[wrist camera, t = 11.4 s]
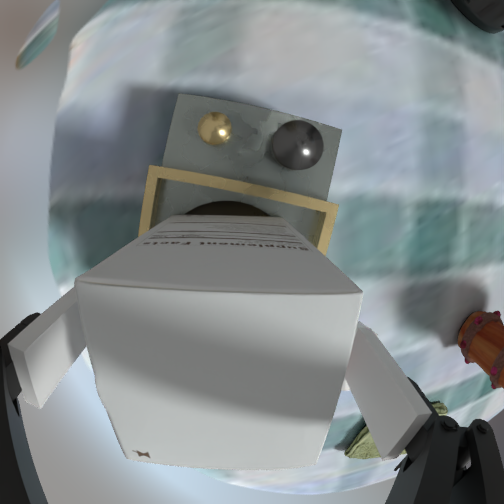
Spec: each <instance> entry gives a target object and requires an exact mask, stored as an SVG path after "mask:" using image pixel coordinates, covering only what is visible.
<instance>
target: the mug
mask: <svg viewBox="0 0 504 504" xmlns="http://www.w3.org/2000/svg"><path fill="white" fill-rule="evenodd" d="M500 316H501V314H500V312H499V311H495V312H493V313H491V312H488V313H487V312H482V311H477V312H474V313H472V314H471V315H470V316H469V317H468V319H467V320H466V321H465V323H464V324H463V326H462V327H461V330H460V332H459V335H458V336H459V337H458V346H459V347H460V348H461V352H462V354H463V356H464V357H465V363H466V364H469V363H470V362H471V363H475V362H476V363H477V364H478V365H479V366H480V367H481V368H482V369H483V370H484V372H486V373H487V374H488V375H489V376H490V381H491V382H492V385H491V386H492V388H493V389H496V388H501V387H503V388H504V326H503V322H502V320H501V319H500Z"/></svg>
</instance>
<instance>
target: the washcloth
mask: <svg viewBox="0 0 504 504" xmlns="http://www.w3.org/2000/svg"><path fill="white" fill-rule="evenodd" d="M432 406H433V407H434V409H435V410H436V411H437V413H438V414H439V416H441V415H445V416H446V414H447V412H448V410H447V407H446V406H445V405H444V403H435V404H432ZM344 454H345V456H348V457H349V458H358V459H368V458H375V457H381V456H380V454H379V452H378V449H377V447H376V445H375V442H374V440H373V438H372V436H371V434H370V431H369V429H368V427H367V425H366V427H365V428H364V429H362V431H361V432H360V433H359V434H358V436H357V437H356V438H355V440H354V441H353V443H352V444H351V445H350V447H349V448H348V449H347V450H346V451H345V453H344ZM401 454H406V451H405V449H404V450H403V451H402V453H401ZM401 454H400V455H401Z"/></svg>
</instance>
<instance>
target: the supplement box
mask: <svg viewBox="0 0 504 504" xmlns="http://www.w3.org/2000/svg"><path fill="white" fill-rule="evenodd" d="M74 286H75V292H76V298H77V303H78V309H79V314H80V319H81V323H82V328H83V332H84V337H85V341H86V345H87V349H88V353H89V357H90V360H91V364H92V367H93V371H94V375H95V383H96V388H97V391H98V395H99V397H100V399H101V401H102V403H103V405H104V407H105V409H106V411H107V413H108V416H109V419H110V421H111V424H112V427H113V429H114V432H115V434H116V437H117V440H118V442H119V444H120V446H121V449H122V451H123V453H124V455H125V457H126V458H127V459H130V460H134V461H140V462H147V463H154V464H163V465H170V466H180V467H191V468H205V469H227V470H281V469H291V468H300V467H305V466H311V465H316V464H317V461H318V458H319V456H320V453H321V450H322V447H323V445H324V442H325V439H326V436H327V433H328V430H329V427H330V424H331V421H332V418H333V415H334V412H335V409H336V406H337V402H338V399H339V396H340V392H341V389H342V385H343V382H344V378H345V374H346V371H347V367H348V363H349V359H350V355H351V350H352V346H353V341H354V337H355V332H356V327H357V323H358V318H359V313H360V308H361V304H362V299H363V291H362V290H361V289H360V288H359V287H358V286H357V285H356V284H355V283H354V282H352V281H351V280H350V279H349V278H348V277H347V276H346V275H345V274H344V273H343V272H342V271H341V270H340V269H339V268H338V267H337V266H335V265H334V264H333V263H332V262H331V261H330V260H329V259H328V258H327V257H326V256H325V255H323V254H322V253H321V252H320V251H319V250H318V249H317V248H316V247H315V246H314V245H312V244H311V243H310V242H309V241H308V240H307V239H306V238H305V237H304V236H303V235H302V234H300V233H299V232H298V231H297V230H296V229H295V228H294V227H293V226H291V225H290V224H289V223H288V222H287V221H286V220H285V219H284V218H281V217H261V216H226V215H172V216H170V217H169V218H167V219H166V220H164V221H162V222H161V223H159V224H158V225H156V226H155V227H153V228H152V229H150V230H149V231H147V232H145V233H144V234H142V235H141V236H139V237H138V238H136V239H135V240H133V241H132V242H130V243H129V244H127V245H126V246H124V247H122V248H121V249H120V250H118V251H117V252H115V253H114V254H112V255H111V256H110V257H108V258H106V259H105V260H103V261H102V262H101V263H99V264H97V265H96V266H95V267H93V268H92V269H90V270H89V271H87V272H85V273H84V274H82V275H80V276H78V277H77V278H75V282H74Z"/></svg>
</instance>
